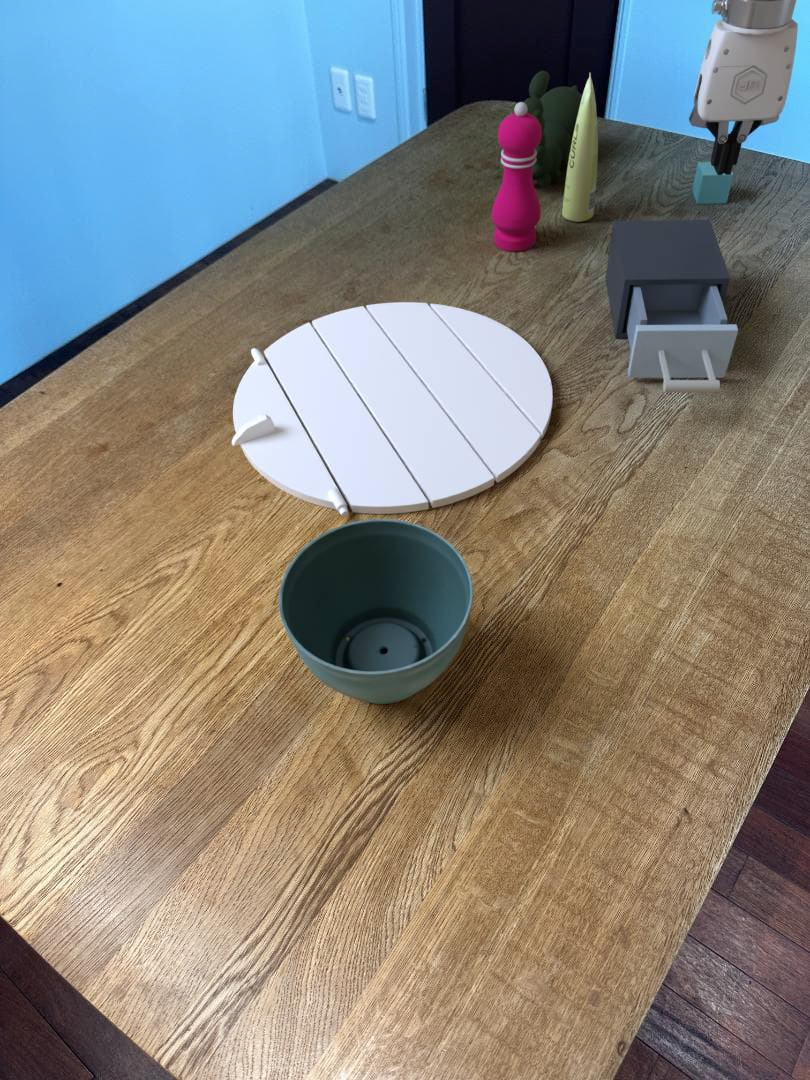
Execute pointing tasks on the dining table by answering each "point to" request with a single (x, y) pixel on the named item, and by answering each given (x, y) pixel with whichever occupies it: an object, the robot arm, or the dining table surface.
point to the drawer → (679, 336)
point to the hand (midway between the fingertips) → (721, 170)
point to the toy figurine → (552, 126)
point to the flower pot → (377, 607)
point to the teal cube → (711, 185)
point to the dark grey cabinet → (661, 260)
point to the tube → (582, 161)
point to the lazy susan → (393, 407)
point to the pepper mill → (517, 182)
